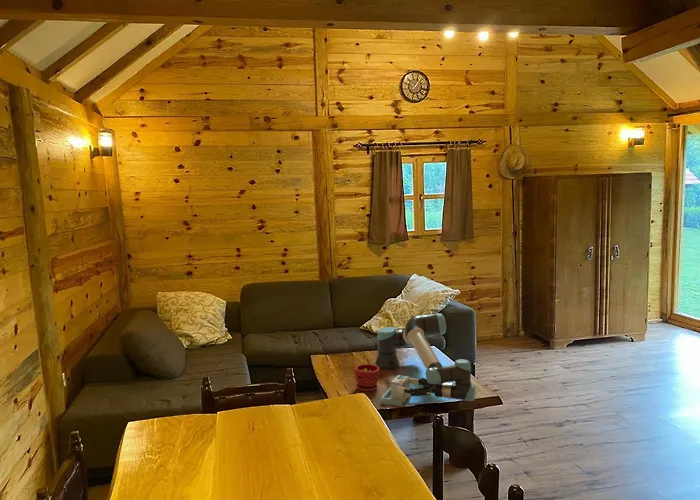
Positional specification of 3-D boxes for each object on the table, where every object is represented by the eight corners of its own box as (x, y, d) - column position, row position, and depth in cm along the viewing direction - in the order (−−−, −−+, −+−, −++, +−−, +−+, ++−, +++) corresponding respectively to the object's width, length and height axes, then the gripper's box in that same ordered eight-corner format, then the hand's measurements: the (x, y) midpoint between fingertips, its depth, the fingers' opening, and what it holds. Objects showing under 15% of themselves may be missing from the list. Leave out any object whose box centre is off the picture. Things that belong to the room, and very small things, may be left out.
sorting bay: (380, 404, 261) (380, 398, 261) (390, 392, 276) (390, 387, 275) (403, 407, 256) (403, 401, 256) (412, 395, 271) (412, 389, 271)
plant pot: (363, 394, 274) (362, 373, 273) (351, 387, 286) (350, 366, 284) (384, 389, 280) (383, 368, 279) (371, 382, 292) (371, 362, 291)
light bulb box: (398, 394, 272) (397, 374, 271) (410, 396, 269) (409, 376, 268) (390, 401, 262) (390, 381, 261) (403, 403, 259) (402, 383, 258)
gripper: (437, 406, 244) (394, 401, 252) (449, 388, 266) (409, 383, 275) (437, 391, 243) (394, 386, 251) (448, 374, 266) (409, 370, 274)
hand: (402, 384), depth 263 cm, fingers open, 13 cm apart
